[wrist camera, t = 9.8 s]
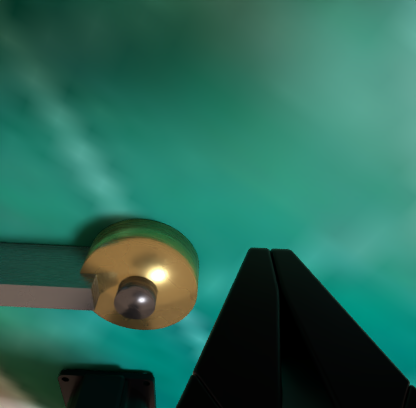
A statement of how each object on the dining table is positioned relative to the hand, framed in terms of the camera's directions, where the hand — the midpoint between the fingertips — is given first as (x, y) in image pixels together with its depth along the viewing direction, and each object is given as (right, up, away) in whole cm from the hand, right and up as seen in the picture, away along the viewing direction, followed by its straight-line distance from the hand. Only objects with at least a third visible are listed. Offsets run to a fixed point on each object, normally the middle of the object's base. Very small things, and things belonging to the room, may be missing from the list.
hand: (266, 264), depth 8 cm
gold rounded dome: (-5, -2, +14) cm, 15 cm away
